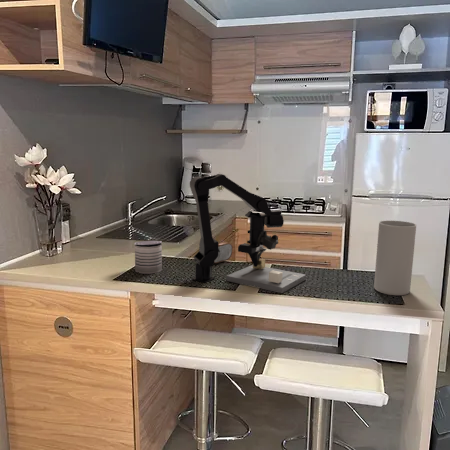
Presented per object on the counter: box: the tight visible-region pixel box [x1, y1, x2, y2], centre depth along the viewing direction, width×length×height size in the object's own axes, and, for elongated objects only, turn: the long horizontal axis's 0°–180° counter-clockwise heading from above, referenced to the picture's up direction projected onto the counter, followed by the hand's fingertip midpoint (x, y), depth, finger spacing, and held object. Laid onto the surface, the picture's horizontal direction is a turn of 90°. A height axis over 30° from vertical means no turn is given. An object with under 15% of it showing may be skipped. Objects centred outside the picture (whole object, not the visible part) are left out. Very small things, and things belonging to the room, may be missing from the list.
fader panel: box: [226, 264, 307, 294], centre depth 179 cm, size 20×24×2 cm
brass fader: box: [252, 258, 266, 269], centre depth 188 cm, size 3×4×4 cm
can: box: [133, 240, 163, 275], centre depth 190 cm, size 11×11×12 cm
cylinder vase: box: [373, 220, 417, 296], centre depth 168 cm, size 12×12×25 cm
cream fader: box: [269, 270, 283, 283], centre depth 170 cm, size 3×4×4 cm
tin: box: [214, 241, 233, 264], centre depth 205 cm, size 15×3×8 cm, turn 141°
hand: (255, 266), depth 185 cm, fingers closed
